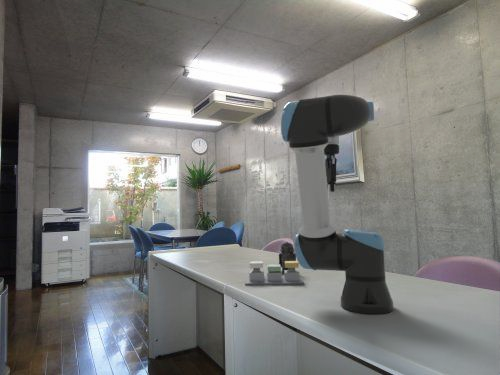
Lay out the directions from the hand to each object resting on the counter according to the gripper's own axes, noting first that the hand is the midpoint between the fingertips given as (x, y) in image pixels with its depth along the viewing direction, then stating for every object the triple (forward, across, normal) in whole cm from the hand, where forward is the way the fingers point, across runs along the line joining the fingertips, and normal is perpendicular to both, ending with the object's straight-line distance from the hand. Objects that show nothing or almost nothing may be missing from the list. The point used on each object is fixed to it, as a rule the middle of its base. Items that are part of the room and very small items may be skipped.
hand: (332, 199), depth 137 cm
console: (+34, -2, -25) cm, 43 cm away
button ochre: (+31, -2, -18) cm, 36 cm away
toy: (+35, -20, -19) cm, 44 cm away
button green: (+33, -2, -25) cm, 42 cm away
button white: (+31, -2, -33) cm, 46 cm away
